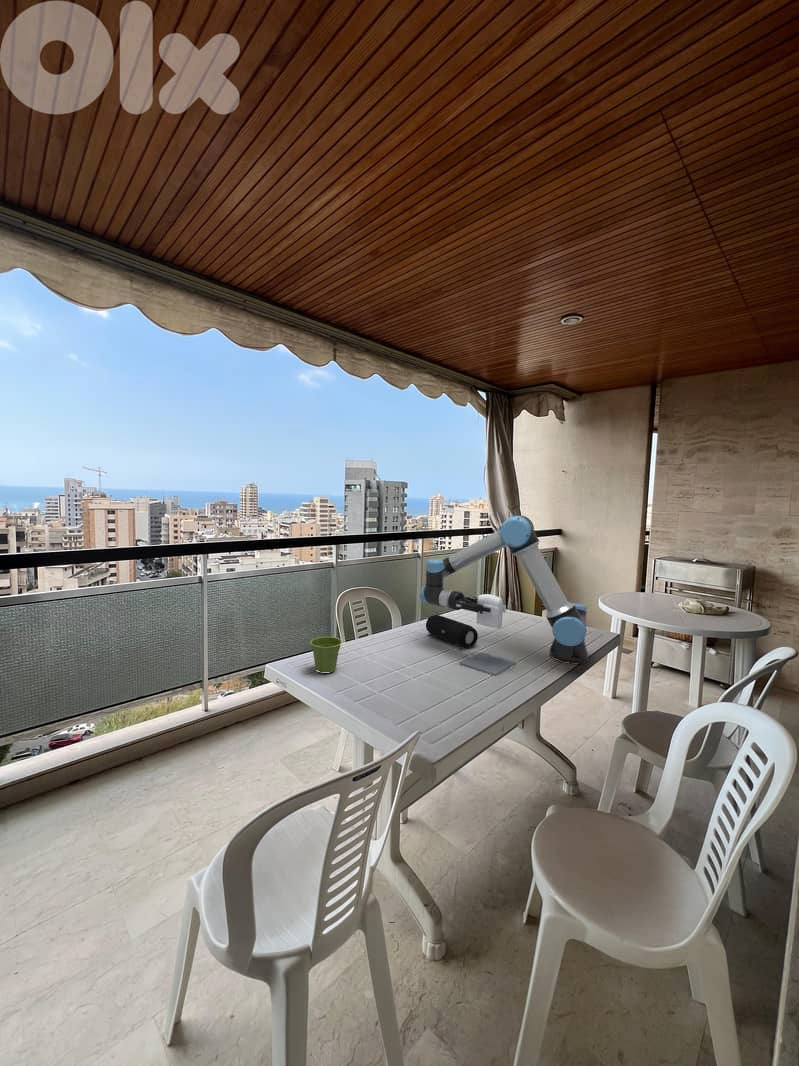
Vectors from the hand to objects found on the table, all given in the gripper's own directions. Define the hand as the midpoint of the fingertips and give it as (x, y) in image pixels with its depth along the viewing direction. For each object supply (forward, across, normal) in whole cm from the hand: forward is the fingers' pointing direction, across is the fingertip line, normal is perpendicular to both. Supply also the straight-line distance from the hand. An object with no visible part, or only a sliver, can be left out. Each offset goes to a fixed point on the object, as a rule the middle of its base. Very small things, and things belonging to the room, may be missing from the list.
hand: (502, 610), depth 167 cm
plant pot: (-45, +49, -23) cm, 71 cm away
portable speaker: (-32, -12, -23) cm, 42 cm away
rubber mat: (-5, 0, -23) cm, 23 cm away
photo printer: (-5, 0, -7) cm, 9 cm away
